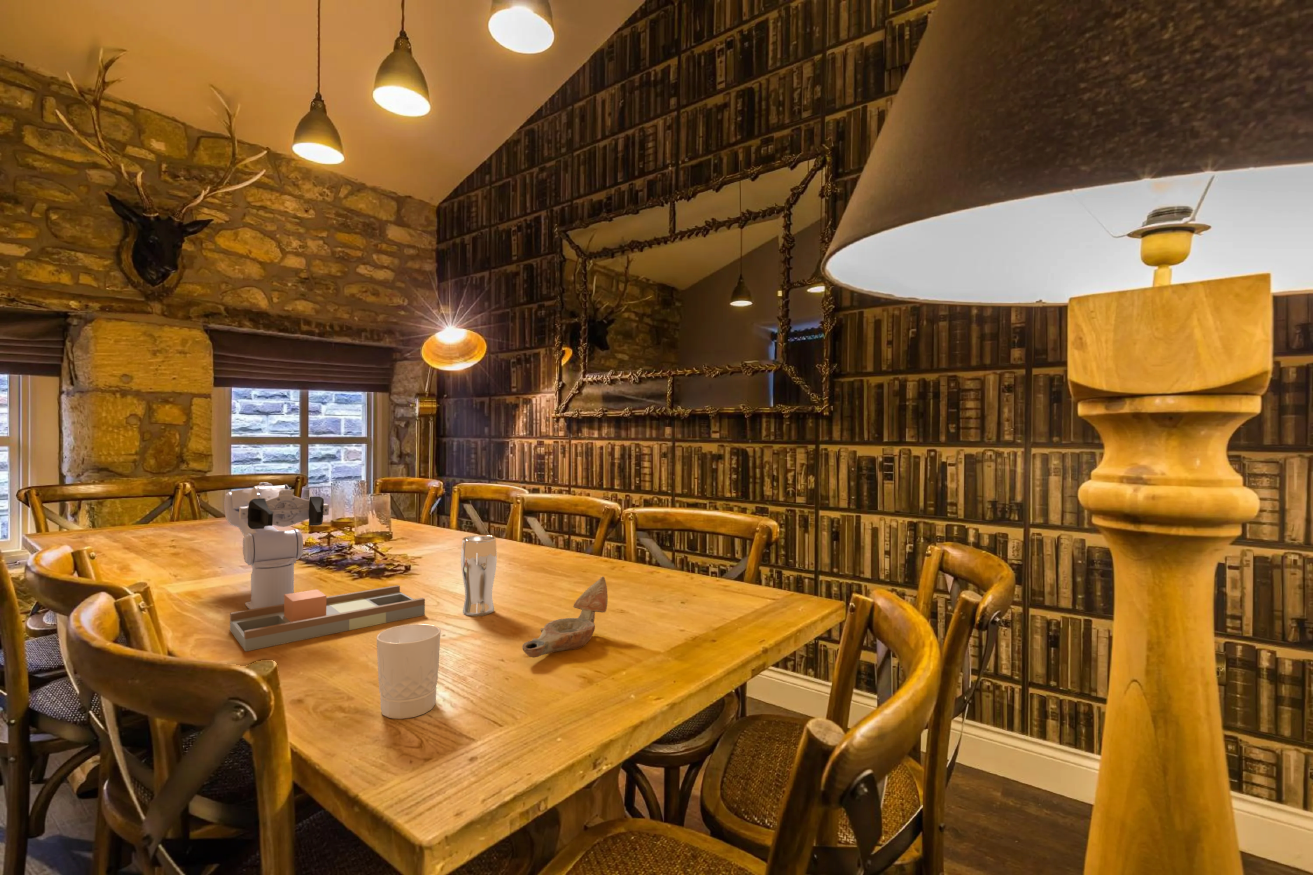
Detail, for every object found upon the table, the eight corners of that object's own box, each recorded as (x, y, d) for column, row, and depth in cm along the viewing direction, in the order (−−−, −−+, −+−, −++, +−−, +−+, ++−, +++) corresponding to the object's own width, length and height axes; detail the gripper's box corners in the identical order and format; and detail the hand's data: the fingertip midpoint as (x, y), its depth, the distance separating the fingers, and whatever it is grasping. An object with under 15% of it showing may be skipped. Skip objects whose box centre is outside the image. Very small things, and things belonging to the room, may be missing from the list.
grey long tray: (229, 630, 111) (230, 612, 111) (397, 599, 132) (398, 585, 132) (245, 651, 101) (245, 632, 101) (424, 614, 121) (424, 598, 121)
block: (284, 615, 113) (284, 594, 113) (317, 609, 117) (317, 589, 117) (292, 623, 109) (292, 601, 109) (326, 617, 113) (326, 595, 113)
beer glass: (486, 618, 120) (486, 541, 120) (453, 615, 121) (454, 540, 121) (502, 607, 127) (502, 535, 127) (471, 605, 128) (471, 534, 128)
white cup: (388, 695, 85) (388, 623, 85) (446, 693, 86) (447, 623, 86) (366, 722, 77) (367, 643, 77) (430, 720, 78) (431, 642, 78)
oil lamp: (621, 633, 112) (622, 579, 112) (545, 673, 94) (545, 608, 94) (584, 625, 116) (584, 573, 116) (503, 661, 98) (504, 599, 98)
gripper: (236, 487, 115) (248, 497, 105) (321, 485, 125) (340, 495, 115) (234, 524, 116) (246, 538, 105) (319, 519, 125) (338, 532, 115)
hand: (295, 518), depth 110 cm, fingers open, 7 cm apart
